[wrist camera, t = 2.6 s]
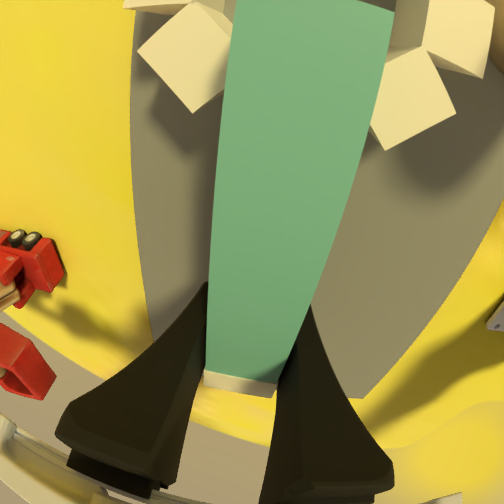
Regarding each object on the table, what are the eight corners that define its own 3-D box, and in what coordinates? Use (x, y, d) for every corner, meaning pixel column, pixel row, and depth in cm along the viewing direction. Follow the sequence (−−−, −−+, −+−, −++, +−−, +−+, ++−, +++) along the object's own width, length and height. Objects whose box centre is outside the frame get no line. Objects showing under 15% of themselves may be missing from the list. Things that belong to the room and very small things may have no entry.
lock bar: (370, 22, 5) (398, 13, 3) (276, 354, 12) (271, 398, 11) (253, -1, 5) (235, -20, 3) (214, 342, 12) (203, 385, 11)
